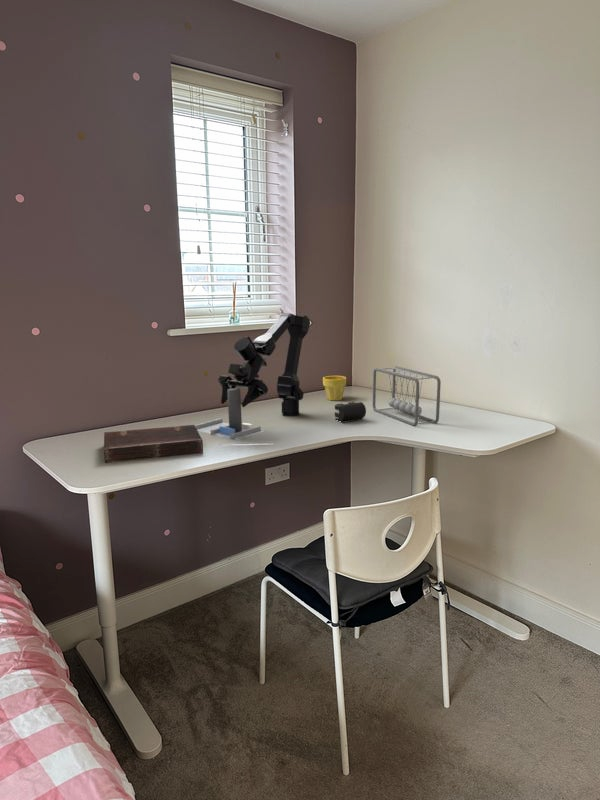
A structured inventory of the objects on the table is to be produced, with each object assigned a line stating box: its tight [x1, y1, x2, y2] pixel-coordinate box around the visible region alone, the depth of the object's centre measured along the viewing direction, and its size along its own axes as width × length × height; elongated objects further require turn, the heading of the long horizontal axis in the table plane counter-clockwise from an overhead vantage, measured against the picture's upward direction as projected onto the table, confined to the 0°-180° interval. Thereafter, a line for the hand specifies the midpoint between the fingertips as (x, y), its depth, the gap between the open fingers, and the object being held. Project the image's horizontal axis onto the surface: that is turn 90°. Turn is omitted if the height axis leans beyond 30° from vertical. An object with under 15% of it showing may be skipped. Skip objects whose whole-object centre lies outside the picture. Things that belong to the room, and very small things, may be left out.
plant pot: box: [322, 375, 347, 401], centre depth 254 cm, size 10×10×10 cm
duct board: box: [194, 417, 265, 441], centre depth 202 cm, size 24×14×3 cm, turn 52°
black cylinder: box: [334, 401, 367, 423], centre depth 216 cm, size 10×7×7 cm
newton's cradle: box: [372, 366, 442, 427], centre depth 220 cm, size 30×10×18 cm, turn 25°
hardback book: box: [103, 424, 204, 464], centre depth 181 cm, size 29×19×5 cm, turn 108°
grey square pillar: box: [227, 387, 243, 433], centre depth 198 cm, size 4×4×15 cm
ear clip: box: [242, 422, 254, 429], centre depth 203 cm, size 4×2×1 cm, turn 52°
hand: (232, 404), depth 196 cm, fingers open, 9 cm apart
